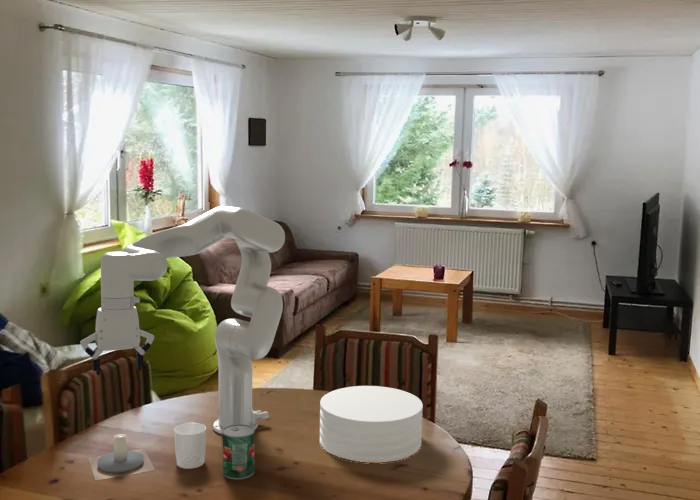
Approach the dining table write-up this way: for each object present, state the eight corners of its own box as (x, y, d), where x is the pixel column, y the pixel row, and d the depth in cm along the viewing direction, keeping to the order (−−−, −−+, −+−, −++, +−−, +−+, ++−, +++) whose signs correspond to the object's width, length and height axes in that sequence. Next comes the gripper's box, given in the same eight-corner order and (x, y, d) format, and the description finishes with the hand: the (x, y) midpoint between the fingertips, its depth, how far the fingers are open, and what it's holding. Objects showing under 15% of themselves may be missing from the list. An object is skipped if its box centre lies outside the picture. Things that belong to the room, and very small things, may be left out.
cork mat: (144, 452, 195) (144, 448, 195) (155, 474, 183) (155, 470, 183) (87, 461, 189) (87, 457, 189) (95, 484, 177) (95, 480, 177)
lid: (139, 451, 193) (138, 425, 192) (147, 468, 183) (147, 441, 182) (94, 459, 188) (93, 431, 187) (100, 476, 179) (100, 448, 178)
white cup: (198, 474, 183) (198, 436, 182) (169, 471, 185) (168, 432, 183) (211, 461, 191) (211, 424, 189) (182, 458, 192) (181, 421, 191)
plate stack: (399, 419, 223) (400, 382, 221) (437, 457, 197) (439, 416, 195) (308, 428, 215) (308, 390, 213) (336, 469, 188) (337, 426, 186)
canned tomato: (260, 473, 185) (261, 431, 183) (233, 482, 179) (233, 439, 178) (242, 462, 190) (243, 421, 189) (216, 471, 185) (216, 429, 184)
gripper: (150, 297, 187) (151, 363, 190) (78, 302, 180) (79, 370, 182) (156, 303, 181) (157, 372, 183) (81, 308, 173) (82, 379, 175)
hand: (118, 371), depth 183 cm, fingers open, 9 cm apart
